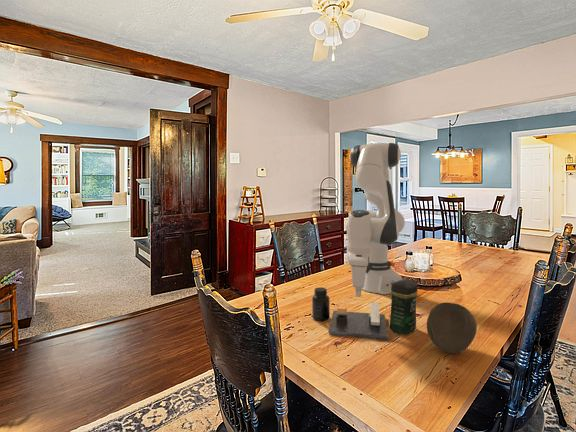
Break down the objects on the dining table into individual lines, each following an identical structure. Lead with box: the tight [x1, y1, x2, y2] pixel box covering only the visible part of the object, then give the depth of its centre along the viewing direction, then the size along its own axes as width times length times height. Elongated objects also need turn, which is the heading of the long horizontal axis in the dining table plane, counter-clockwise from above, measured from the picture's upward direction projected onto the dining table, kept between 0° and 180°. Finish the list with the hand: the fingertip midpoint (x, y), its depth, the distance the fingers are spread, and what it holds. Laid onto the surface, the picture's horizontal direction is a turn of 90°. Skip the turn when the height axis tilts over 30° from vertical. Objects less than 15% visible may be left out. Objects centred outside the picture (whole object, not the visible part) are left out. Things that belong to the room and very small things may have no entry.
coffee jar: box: [389, 277, 418, 336], centre depth 118 cm, size 10×8×19 cm
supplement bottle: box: [311, 287, 331, 323], centre depth 129 cm, size 7×7×12 cm
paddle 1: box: [336, 306, 348, 315], centre depth 123 cm, size 10×4×2 cm, turn 167°
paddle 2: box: [369, 302, 381, 326], centre depth 120 cm, size 10×4×2 cm, turn 167°
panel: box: [328, 310, 389, 341], centre depth 122 cm, size 18×20×3 cm
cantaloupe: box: [426, 301, 478, 354], centre depth 104 cm, size 14×14×15 cm
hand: (358, 291), depth 121 cm, fingers open, 8 cm apart
